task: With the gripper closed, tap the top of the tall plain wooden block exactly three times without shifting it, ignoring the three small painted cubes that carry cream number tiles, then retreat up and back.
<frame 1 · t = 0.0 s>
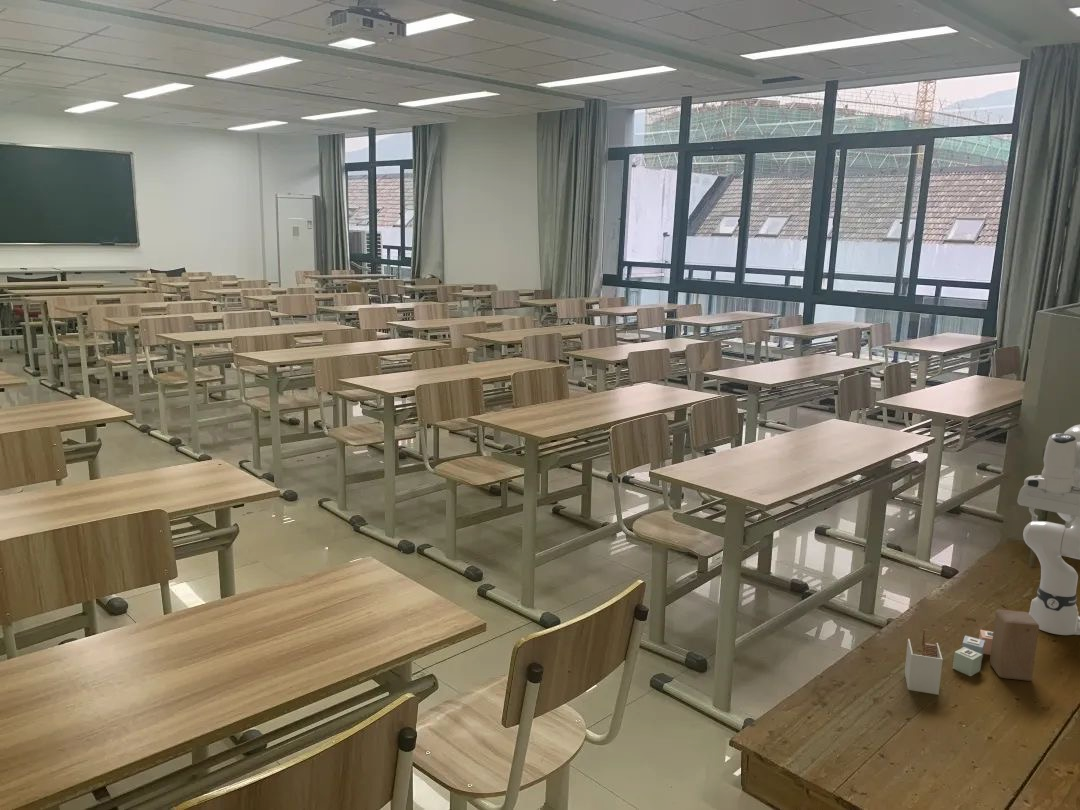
hand: (1050, 523, 259), 48 cm above the table, fingers open, 8 cm apart
tile cube terracotta: (988, 651, 272), on the table
tile cube slate: (971, 657, 268), on the table
tile cube sage: (966, 669, 260), on the table, touching tall white open bin
wooden block: (1009, 673, 259), on the table
tall white open bin: (920, 685, 252), on the table, touching tile cube sage
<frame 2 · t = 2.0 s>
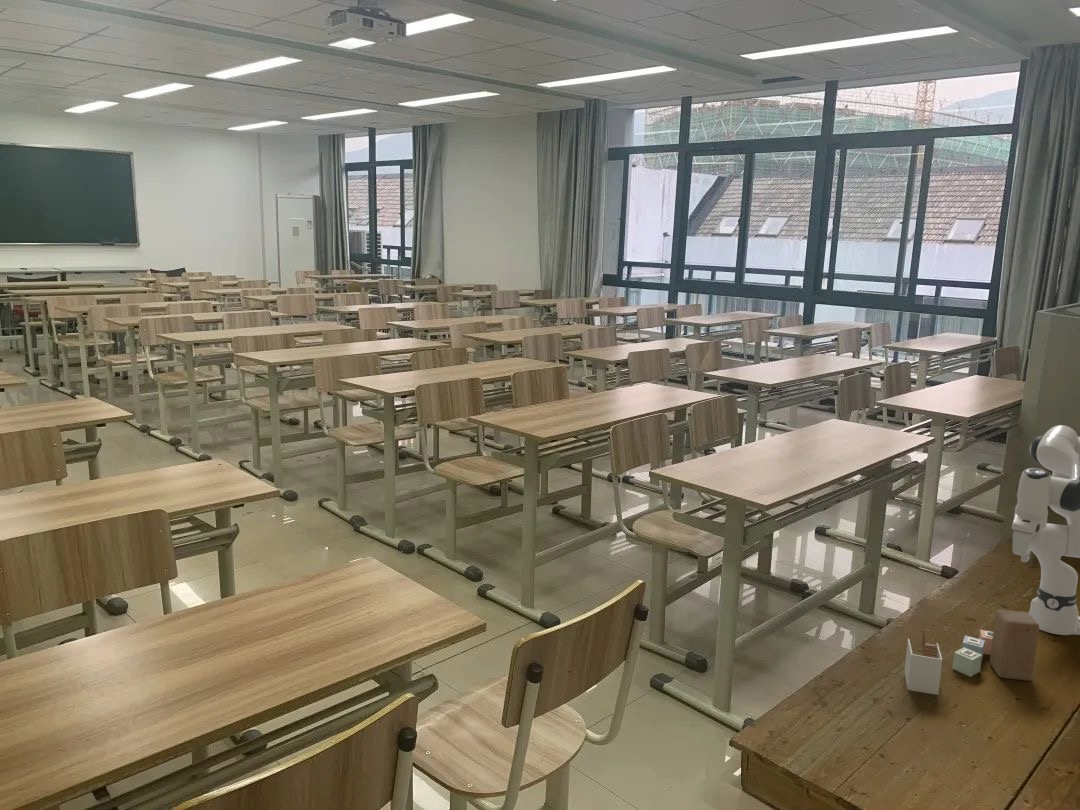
hand: (1024, 560, 251), 39 cm above the table, fingers closed
nothing on the table moved.
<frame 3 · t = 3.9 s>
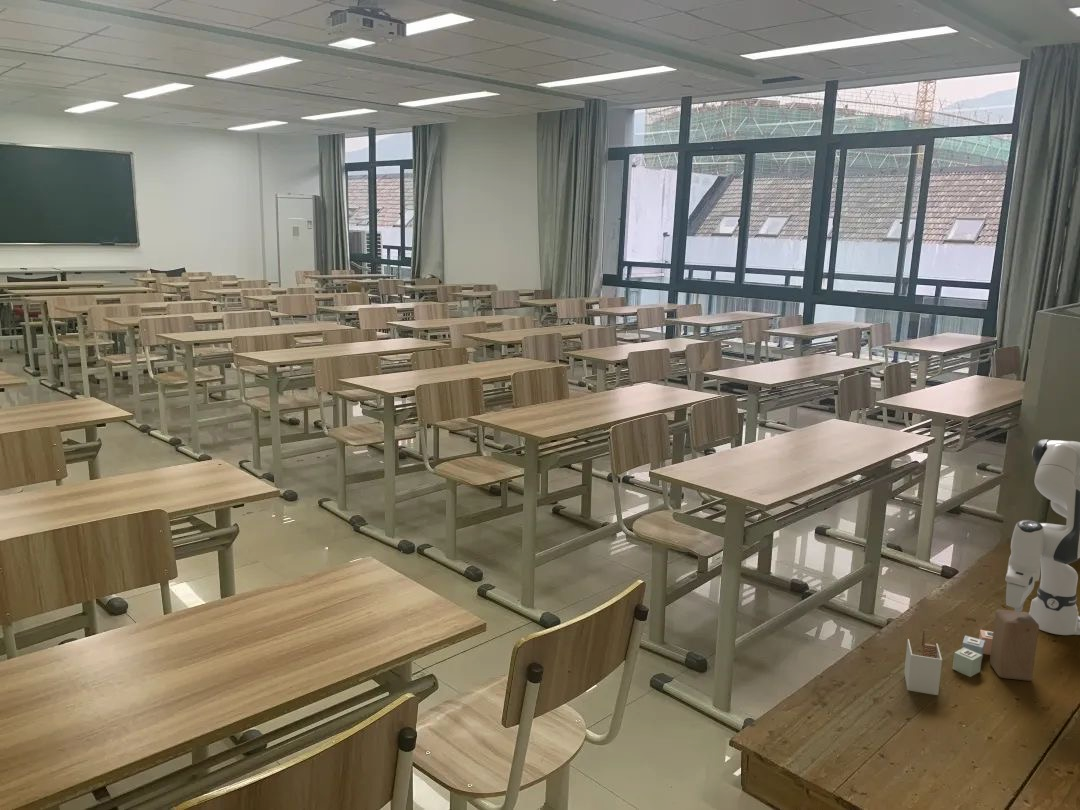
hand: (1018, 610, 254), 22 cm above the table, fingers closed
tile cube sage: (966, 670, 260), on the table
tall white open bin: (920, 685, 252), on the table
everything else where it was.
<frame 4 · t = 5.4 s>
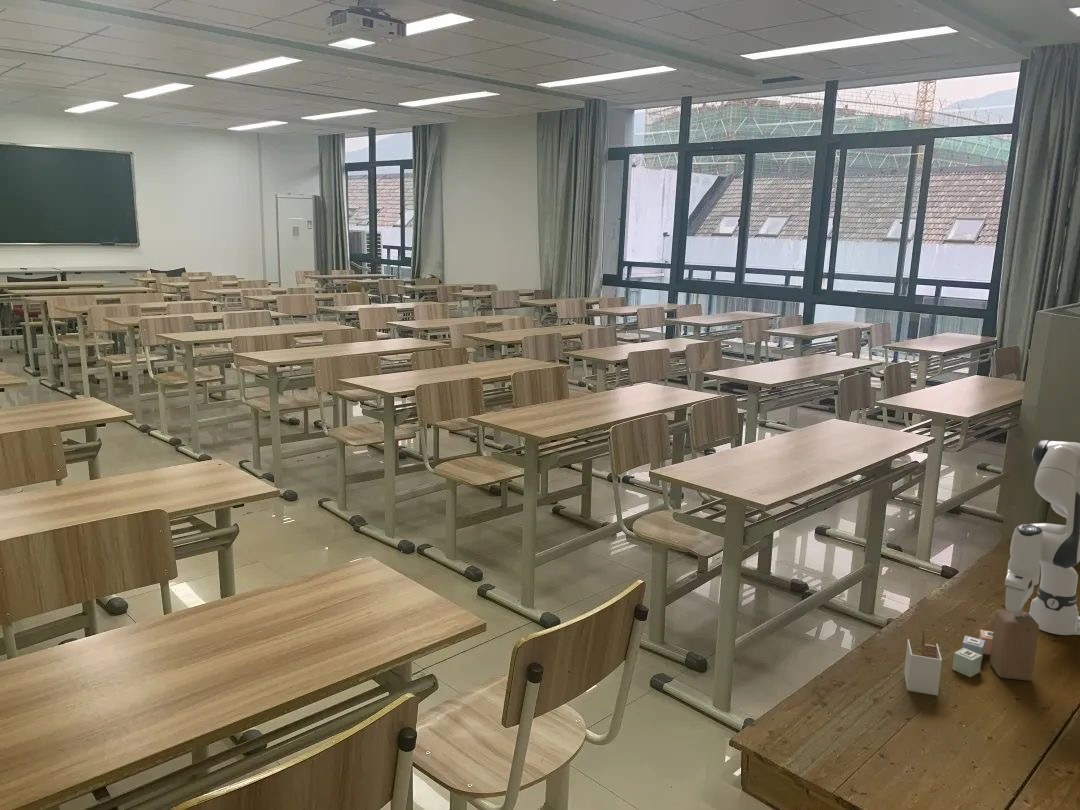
hand: (1017, 614, 255), 20 cm above the table, fingers closed
tile cube sage: (966, 670, 260), on the table, touching tall white open bin
tall white open bin: (920, 685, 252), on the table, touching tile cube sage
everything else where it was.
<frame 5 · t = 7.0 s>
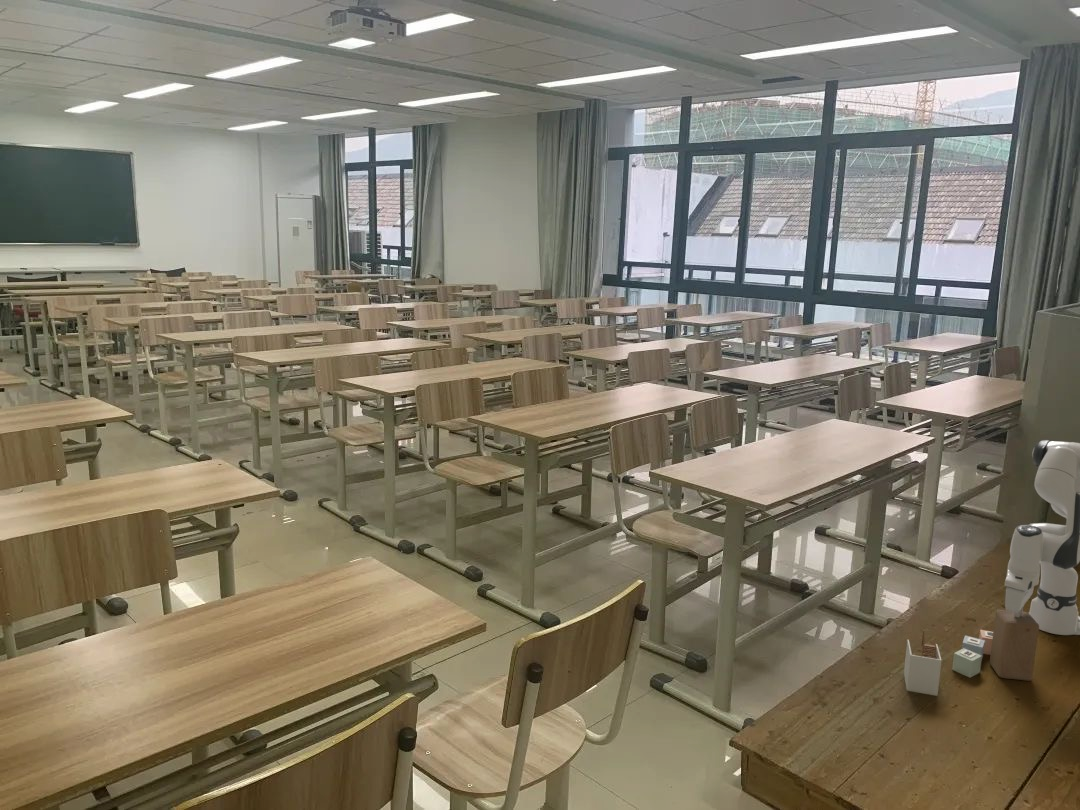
hand: (1017, 615, 255), 20 cm above the table, fingers closed
nothing on the table moved.
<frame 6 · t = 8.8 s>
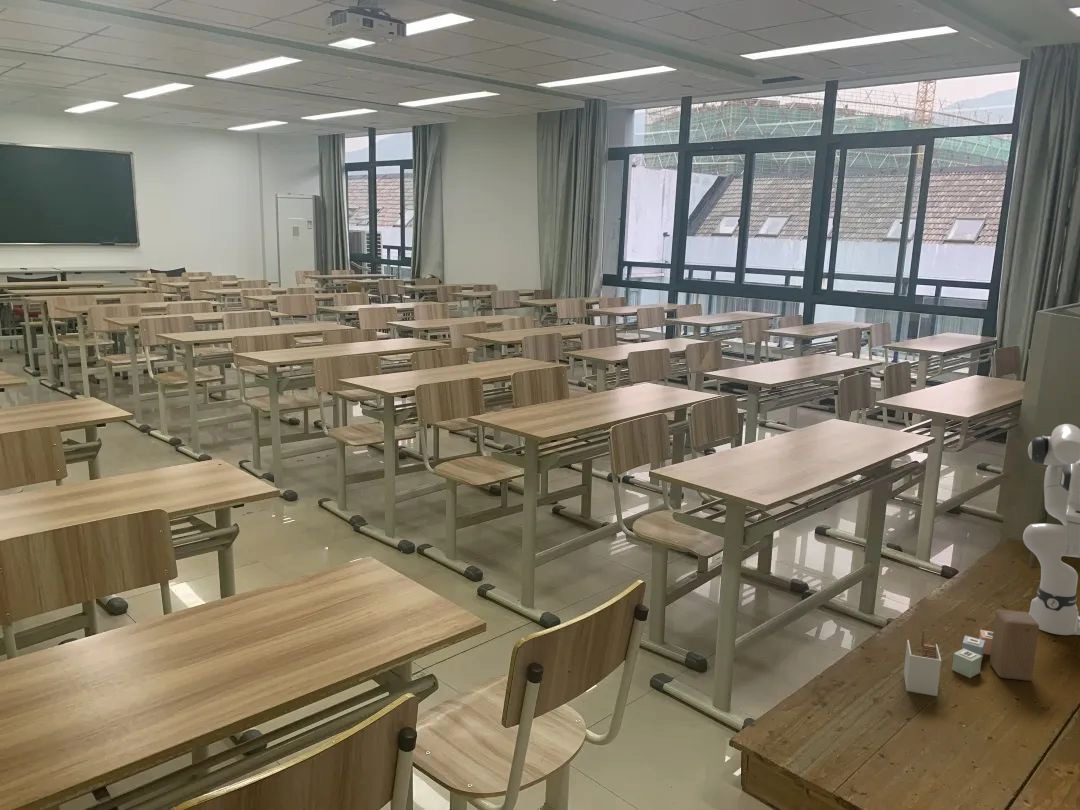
hand: (1076, 551, 252), 42 cm above the table, fingers closed
nothing on the table moved.
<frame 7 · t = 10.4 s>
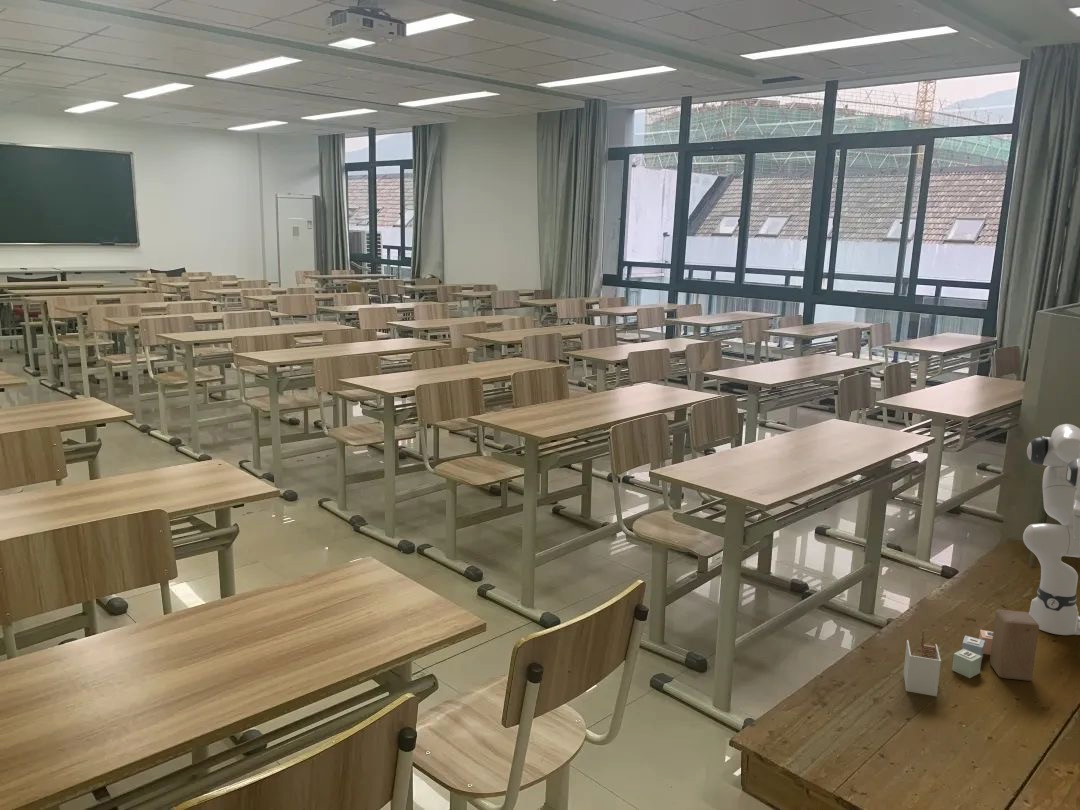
nothing on the table moved.
at the end: wooden block moved 0.2 cm from its start; wooden block tilted 0°; wooden block touching table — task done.
